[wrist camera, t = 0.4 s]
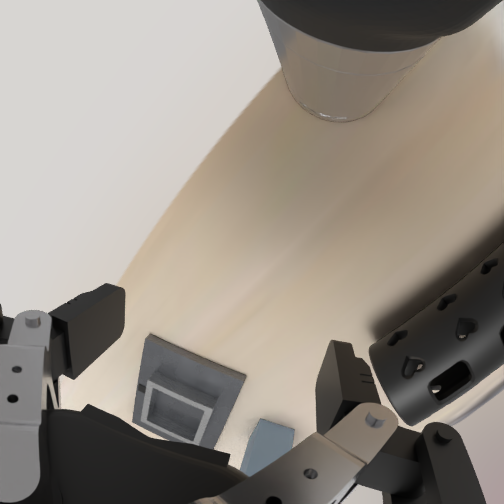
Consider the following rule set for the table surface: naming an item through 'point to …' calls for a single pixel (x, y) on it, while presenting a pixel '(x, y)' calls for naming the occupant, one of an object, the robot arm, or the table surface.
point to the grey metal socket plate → (183, 394)
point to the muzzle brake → (445, 344)
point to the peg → (266, 446)
